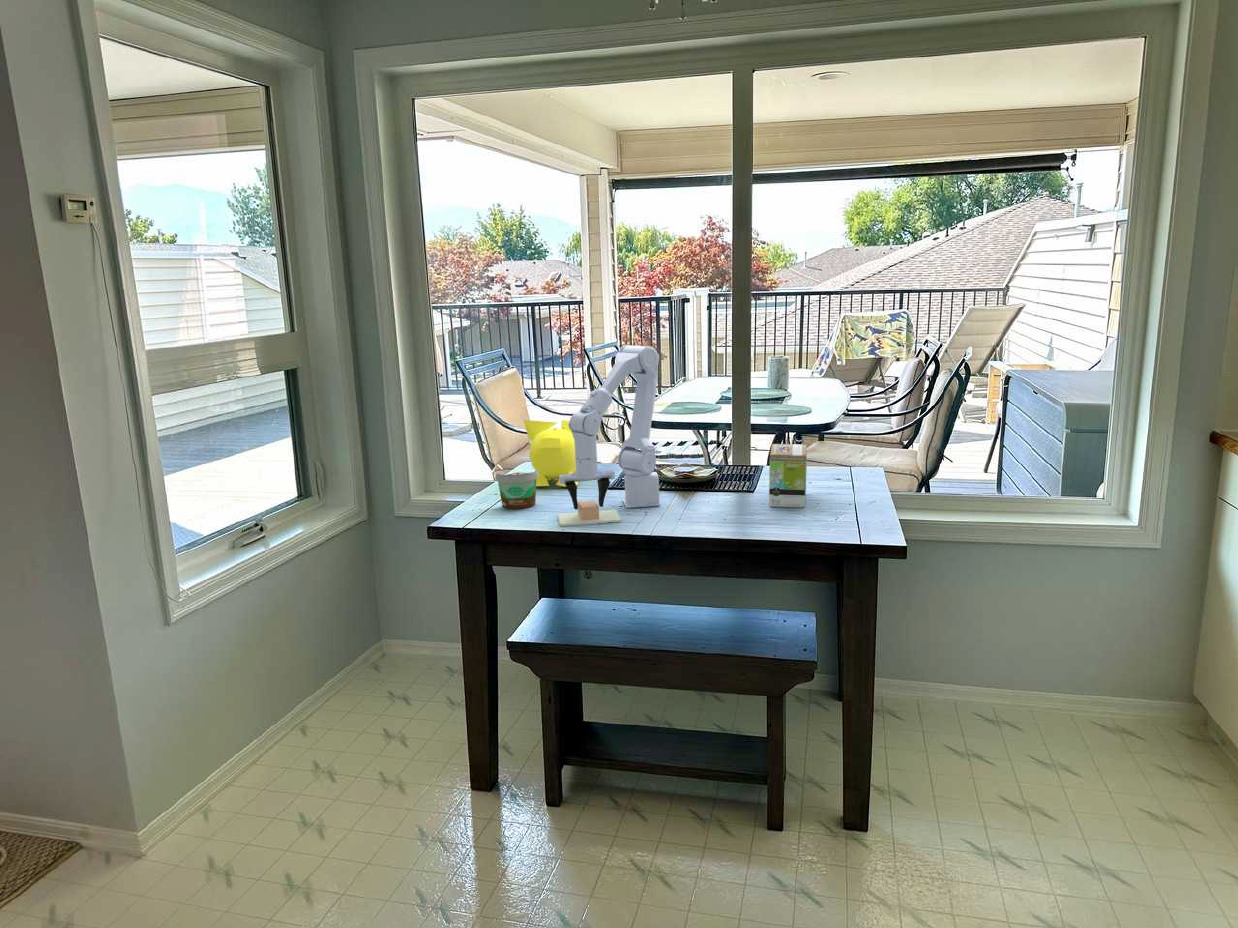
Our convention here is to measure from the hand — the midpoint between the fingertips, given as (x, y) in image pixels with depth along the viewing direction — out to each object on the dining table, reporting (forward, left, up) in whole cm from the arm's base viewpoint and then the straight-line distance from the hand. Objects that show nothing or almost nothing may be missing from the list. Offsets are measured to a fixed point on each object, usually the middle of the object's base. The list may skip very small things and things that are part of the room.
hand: (588, 507), depth 232 cm
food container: (+18, -16, -3) cm, 24 cm away
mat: (0, 0, -3) cm, 3 cm away
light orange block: (0, 0, -3) cm, 3 cm away
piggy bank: (+6, -42, -3) cm, 43 cm away
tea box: (-56, -4, -3) cm, 56 cm away
